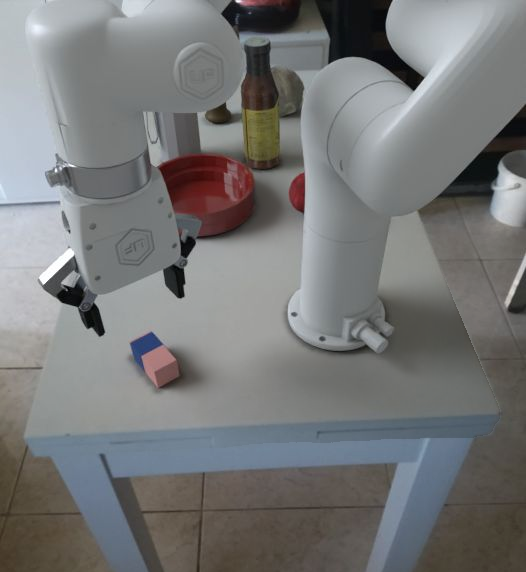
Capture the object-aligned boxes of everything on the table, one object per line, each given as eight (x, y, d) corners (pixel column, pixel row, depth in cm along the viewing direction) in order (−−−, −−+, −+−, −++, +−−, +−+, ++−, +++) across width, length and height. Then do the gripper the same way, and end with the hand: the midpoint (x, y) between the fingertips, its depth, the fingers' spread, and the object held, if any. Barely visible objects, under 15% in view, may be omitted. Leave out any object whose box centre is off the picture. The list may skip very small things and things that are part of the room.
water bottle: (190, 146, 105) (172, -8, 86) (210, 165, 100) (196, 7, 82) (144, 160, 102) (115, 4, 83) (163, 180, 97) (137, 20, 79)
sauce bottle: (287, 163, 101) (289, 42, 86) (258, 175, 98) (255, 53, 83) (264, 148, 104) (262, 30, 89) (236, 159, 102) (230, 40, 87)
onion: (322, 226, 88) (325, 180, 82) (285, 222, 89) (286, 176, 83) (327, 205, 92) (330, 159, 86) (291, 201, 93) (293, 156, 87)
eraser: (180, 376, 69) (177, 359, 66) (157, 388, 67) (153, 372, 65) (155, 346, 72) (151, 330, 69) (133, 358, 70) (128, 341, 68)
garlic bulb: (300, 125, 115) (319, 81, 106) (265, 130, 111) (282, 85, 102) (278, 94, 118) (294, 49, 110) (243, 97, 114) (257, 51, 106)
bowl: (276, 211, 91) (276, 186, 87) (184, 253, 84) (181, 228, 81) (215, 166, 100) (213, 142, 97) (128, 201, 93) (123, 177, 90)
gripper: (27, 221, 44) (77, 366, 56) (214, 154, 51) (222, 296, 64) (-8, 178, 48) (47, 323, 60) (170, 122, 55) (186, 261, 68)
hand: (136, 309), depth 62 cm, fingers open, 9 cm apart
